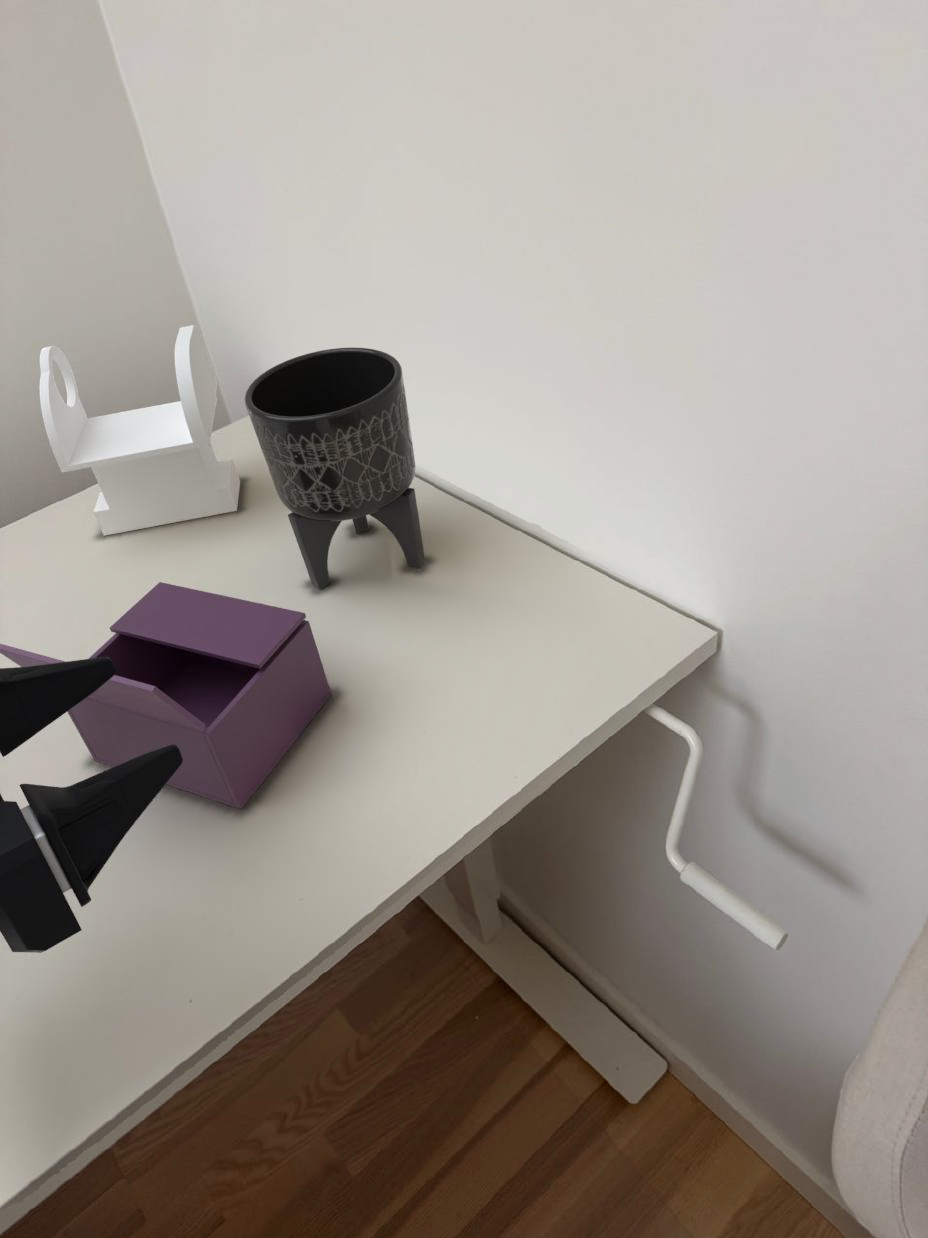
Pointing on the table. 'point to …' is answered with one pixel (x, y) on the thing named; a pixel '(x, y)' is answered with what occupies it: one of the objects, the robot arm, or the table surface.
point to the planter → (338, 448)
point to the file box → (209, 688)
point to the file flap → (119, 691)
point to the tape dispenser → (145, 445)
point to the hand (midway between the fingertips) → (144, 705)
